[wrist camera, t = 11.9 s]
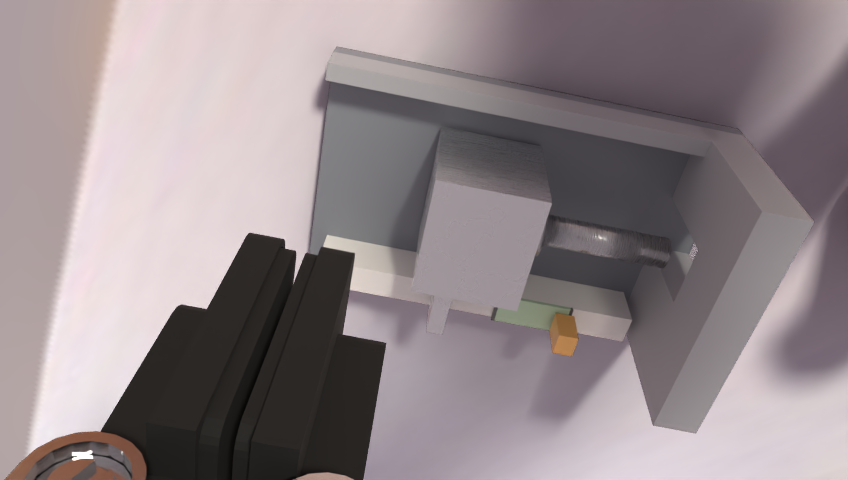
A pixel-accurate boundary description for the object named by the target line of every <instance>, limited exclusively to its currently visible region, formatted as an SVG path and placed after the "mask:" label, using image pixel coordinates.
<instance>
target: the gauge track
mask: <svg viewBox="0 0 848 480" xmlns="http://www.w3.org/2000/svg"><path fill="white" fill-rule="evenodd" d="M325 80H327V81H330V87H329V95H328V103H327V112H326V120H325V128H324V137H323V145H322V153H321V161H320V170H319V178H318V186H317V194H316V203H315V211H314V219H313V227H312V236H311V244H310V252H309V254H315V255H318V253H319V250H320V248H321V247H327V248H332V249H337V250H342V251H347V252H353V253H355V260H354V266H353V273H352V279H351V285H350V290H353V291H358V292H364V293H369V294H374V295H379V296H385V297H390V298H395V299H400V300H406V301H411V302H416V303H421V304H427V305H430V302H431V298H432V295H429V294H424V293H418V292H413V291H411V288H412V281H413V273H414V266H415V259H416V251H417V244H418V237H419V229H420V224H421V219H422V215H423V210H424V205H425V201H426V196H427V191H428V187H429V182H430V178H431V173H432V168H433V164H434V159H435V154H436V150H437V145H438V140H439V136H440V131H441V126H442V127H447V128H452V129H457V130H462V131H467V132H471V133H476V134H481V135H486V136H491V137H496V138H501V139H506V140H511V141H516V142H521V143H526V144H531V145H536V146H541V148H542V153H543V158H544V163H545V168H546V174H547V179H548V184H549V189H550V195H551V200H552V205H551V208H550V211H549V215H555V216H560V217H565V218H570V219H575V220H580V221H585V222H590V223H595V224H600V225H605V226H610V227H615V228H620V229H625V230H631V231H636V232H641V233H646V234H651V235H656V236H661V237H666V238H669V239H670V241H671V254H670V258H669V261H668V263H667V265H666V266H665V267H664V268H657V267H652V266H647V265H641V264H636V263H631V262H626V261H621V260H616V259H611V258H606V257H600V256H595V255H590V254H585V253H580V252H575V251H570V250H565V249H560V248H554V247H549V246H544V245H543V247H542V249H541V251H540V253H539V255H538V256H535V257H534V260H533V264H532V267H531V270H530V273H529V276H528V279H527V282H526V285H525V288H524V291H523V294H522V297H521V300H520V303H519V307H518V310H517V311H513V310H507V309H502V308H497V307H492V306H486V305H481V304H476V303H471V302H465V301H460V300H455V299H452V300H451V304H450V308H449V309H453V310H458V311H463V312H469V313H474V314H479V315H484V316H490V317H491V320H495V321H500V322H505V323H510V324H516V325H521V326H526V327H532V328H537V329H542V330H547V331H549V330H550V327H551V324H552V321H553V319H554V316H555V313H559V314H564V315H570V316H574V317H575V322H576V327H577V333H579V334H584V335H590V336H595V337H600V338H605V339H611V340H616V341H621V342H623V340H624V338H625V336H626V333H627V336H628V340H629V343H630V347H631V350H632V354H633V357H634V361H635V364H636V368H637V371H638V375H639V378H640V382H641V385H642V389H643V392H644V396H645V399H646V403H647V406H648V410H649V413H650V417H651V420H652V424H653V426H658V427H664V428H669V429H675V430H680V431H685V432H691V433H697V431H698V429H699V427H700V426H701V424H702V422H703V420H704V419H705V417H706V415H707V413H708V411H709V410H710V408H711V406H712V404H713V402H714V401H715V399H716V397H717V395H718V394H719V392H720V390H721V388H722V386H723V385H724V383H725V381H726V379H727V378H728V376H729V374H730V372H731V370H732V369H733V367H734V365H735V363H736V361H737V360H738V358H739V356H740V354H741V353H742V351H743V349H744V347H745V345H746V344H747V342H748V340H749V338H750V336H751V335H752V333H753V331H754V329H755V328H756V326H757V324H758V322H759V320H760V319H761V317H762V315H763V313H764V312H765V310H766V308H767V306H768V304H769V303H770V301H771V299H772V297H773V295H774V294H775V292H776V290H777V288H778V287H779V285H780V283H781V281H782V279H783V278H784V276H785V274H786V272H787V271H788V269H789V267H790V265H791V263H792V262H793V260H794V258H795V256H796V254H797V253H798V251H799V249H800V247H801V246H802V244H803V242H804V240H805V238H806V237H807V235H808V233H809V231H810V230H811V228H812V226H813V224H814V221H813V219H812V218H811V217H810V216H809V215H808V213H807V212H806V211H805V210H804V208H803V207H802V206H801V205H800V204H799V202H798V201H797V200H796V199H795V197H794V196H793V195H792V194H791V193H790V191H789V190H788V189H787V188H786V186H785V185H784V184H783V183H782V182H781V180H780V179H779V178H778V177H777V175H776V174H775V173H774V172H773V171H772V169H771V168H770V167H769V166H768V164H767V163H766V162H765V161H764V160H763V158H762V157H761V156H760V155H759V153H758V152H757V151H756V150H755V149H754V147H753V146H752V145H751V144H750V142H749V141H748V140H747V139H746V138H745V136H744V135H743V134H742V133H741V131H740V130H739V129H736V128H731V127H726V126H722V125H717V124H712V123H707V122H702V121H697V120H692V119H687V118H683V117H678V116H673V115H668V114H663V113H658V112H653V111H648V110H644V109H639V108H634V107H629V106H624V105H619V104H614V103H609V102H605V101H600V100H595V99H590V98H585V97H580V96H575V95H570V94H566V93H561V92H556V91H551V90H546V89H541V88H536V87H531V86H527V85H522V84H517V83H512V82H507V81H502V80H497V79H492V78H488V77H483V76H478V75H473V74H468V73H463V72H458V71H453V70H449V69H444V68H439V67H434V66H429V65H424V64H419V63H415V62H410V61H405V60H400V59H395V58H390V57H385V56H380V55H376V54H371V53H366V52H361V51H356V50H351V49H346V48H341V47H336V49H335V50H334V52H333V54H332V55H331V57H330V59H329V61H328V62H327V70H326V78H325ZM694 242H695V244H696V246H697V248H698V252H697V254H696V256H695V258H694V260H693V261H692V259H691V257H690V255H689V253H690V251H691V249H692V247H693V244H694Z"/></svg>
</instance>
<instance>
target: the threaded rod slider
mask: <svg viewBox="0 0 848 480" xmlns="http://www.w3.org/2000/svg"><path fill="white" fill-rule="evenodd" d="M551 205H552V200H551V195H550V189H549V184H548V179H547V174H546V168H545V163H544V158H543V153H542V148H541V146H536V145H531V144H526V143H521V142H516V141H511V140H506V139H501V138H496V137H491V136H486V135H481V134H476V133H471V132H467V131H462V130H457V129H452V128H447V127H442V126H441V131H440V136H439V140H438V145H437V150H436V154H435V159H434V164H433V168H432V173H431V178H430V182H429V187H428V191H427V196H426V201H425V205H424V210H423V215H422V219H421V224H420V229H419V237H418V244H417V251H416V259H415V266H414V273H413V281H412V288H411V291H413V292H418V293H424V294H429V295H432V298H431V302H430V306H429V310H428V318H427V328H426V332H429V333H434V334H439V335H442V334H443V331H444V327H445V323H446V319H447V315H448V311H449V308H450V304H451V300H452V299H455V300H460V301H465V302H471V303H476V304H481V305H486V306H492V307H497V308H502V309H507V310H513V311H517V310H518V307H519V303H520V300H521V297H522V294H523V291H524V288H525V285H526V282H527V279H528V276H529V273H530V270H531V267H532V264H533V260H534V257H535V256H538V255H539V253H540V251H541V249H542V247H543V245H544V246H549V247H554V248H560V249H565V250H570V251H575V252H580V253H585V254H590V255H595V256H600V257H606V258H611V259H616V260H621V261H626V262H631V263H636V264H641V265H647V266H652V267H657V268H664V267H665V266H666V265H667V263H668V261H669V258H670V254H671V241H670V239H669V238H666V237H661V236H656V235H651V234H646V233H641V232H636V231H631V230H625V229H620V228H615V227H610V226H605V225H600V224H595V223H590V222H585V221H580V220H575V219H570V218H565V217H560V216H555V215H549V211H550V208H551Z"/></svg>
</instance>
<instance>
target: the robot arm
mask: <svg viewBox="0 0 848 480" xmlns="http://www.w3.org/2000/svg"><path fill="white" fill-rule="evenodd" d="M354 260H355V253H353V252H347V251H342V250H337V249H332V248H327V247H321V248H320V250H319V253H318V255H315V254H309V253H306V254H305V256H304V258H303V261H302V264H301V266H300V269H299V271H298V274H297V276H296V279H295V282H294V284H293V281H294V272H295V263H296V251H294V250H289V249H285V240H284V239H280V238H275V237H270V236H264V235H259V234H254V233H248V235H247V236H246V238H245V240H244V242H243V243H242V245H241V247H240V249H239V251H238V253H237V255H236V256H235V258H234V260H233V262H232V264H231V266H230V267H229V269H228V271H227V273H226V275H225V277H224V279H223V280H222V282H221V284H220V286H219V288H218V290H217V292H216V293H215V295H214V297H213V299H212V301H211V303H210V304H209V306H208V308H207V309H202V308H197V307H192V306H186V305H179V306H178V307H177V308H176V309H175V310H174V311H173V313H172V314H171V316H170V318H169V319H168V321H167V323H166V324H165V326H164V328H163V329H162V331H161V332H160V334H159V336H158V337H157V339H156V341H155V342H154V344H153V346H152V347H151V349H150V351H149V352H148V354H147V356H146V357H145V359H144V361H143V362H142V364H141V366H140V367H139V369H138V370H137V372H136V374H135V375H134V377H133V379H132V380H131V382H130V384H129V385H128V387H127V389H126V390H125V392H124V394H123V395H122V397H121V399H120V400H119V402H118V404H117V405H116V407H115V409H114V410H113V412H112V413H111V415H110V417H109V418H108V420H107V422H106V423H105V425H104V427H103V428H102V430H101V432H98V431H94V432H78V433H73V434H70V435H66V436H62V437H59V438H56V439H54V440H52V441H50V442H48V443H46V444H44V445H42V446H40V447H38V448H36V449H35V450H34V451H33V452H32V453H31V454H29V455H28V456H27V457H26V458H25V459H23V460H22V461H21V462H20V463H19V464H18V465H17V466H16V468H15V469H14V470H13V471H12V472H11V473H10V474H9V475H8V476H7V477H6V478H5V479H4V480H363V478H364V472H365V466H366V460H367V454H368V448H369V442H370V436H371V430H372V425H373V419H374V413H375V407H376V401H377V395H378V389H379V383H380V377H381V372H382V366H383V360H384V354H385V348H386V343H384V342H378V341H373V340H368V339H362V338H357V337H352V336H346V335H342V334H343V328H344V322H345V316H346V310H347V303H348V297H349V291H350V285H351V279H352V273H353V266H354Z"/></svg>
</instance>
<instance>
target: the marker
mask: <svg viewBox="0 0 848 480" xmlns="http://www.w3.org/2000/svg"><path fill="white" fill-rule="evenodd" d="M549 331H550V338H551V345H552V352H553V353H555V354H561V355H566V356H571V357H572V355H573V352H574V350H575V347H576V345H577V342H578V340H579V338H578V333H577V327H576V322H575V317H574V316H570V315H564V314H559V313H555V316H554V319H553V321H552V324H551V327H550V330H549Z"/></svg>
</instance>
